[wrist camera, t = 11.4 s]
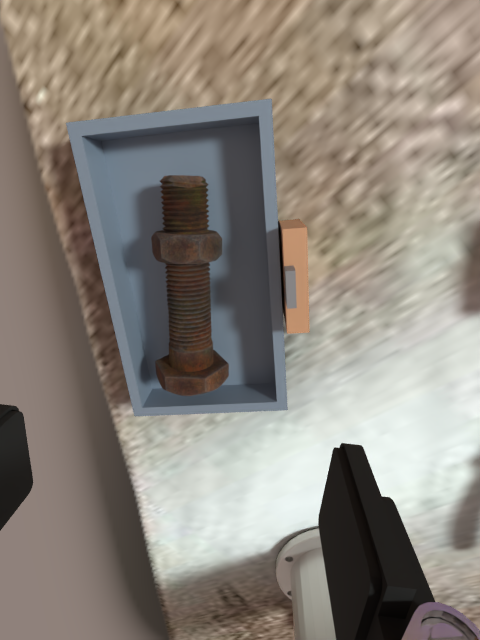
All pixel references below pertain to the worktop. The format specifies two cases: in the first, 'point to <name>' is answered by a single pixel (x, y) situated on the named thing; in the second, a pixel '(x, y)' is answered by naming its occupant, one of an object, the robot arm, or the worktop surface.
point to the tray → (224, 217)
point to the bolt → (188, 288)
